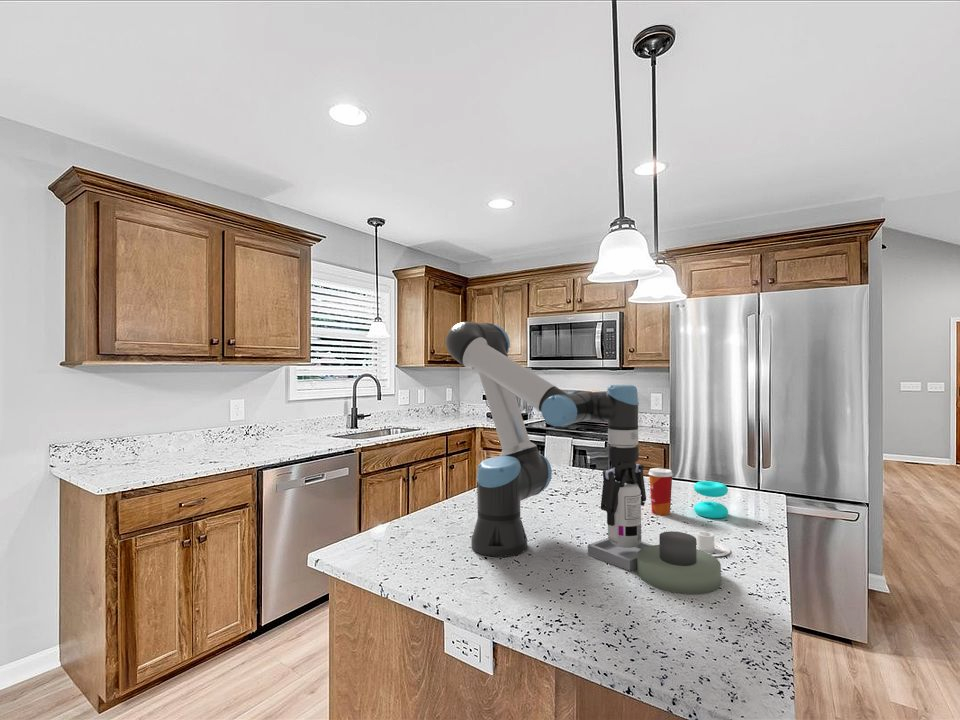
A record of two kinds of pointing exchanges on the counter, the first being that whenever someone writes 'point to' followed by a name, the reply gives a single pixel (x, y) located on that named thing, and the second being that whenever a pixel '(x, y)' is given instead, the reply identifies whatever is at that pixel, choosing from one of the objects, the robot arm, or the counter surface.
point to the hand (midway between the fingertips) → (624, 533)
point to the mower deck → (665, 563)
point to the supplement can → (628, 516)
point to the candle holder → (709, 543)
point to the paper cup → (660, 490)
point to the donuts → (709, 507)
